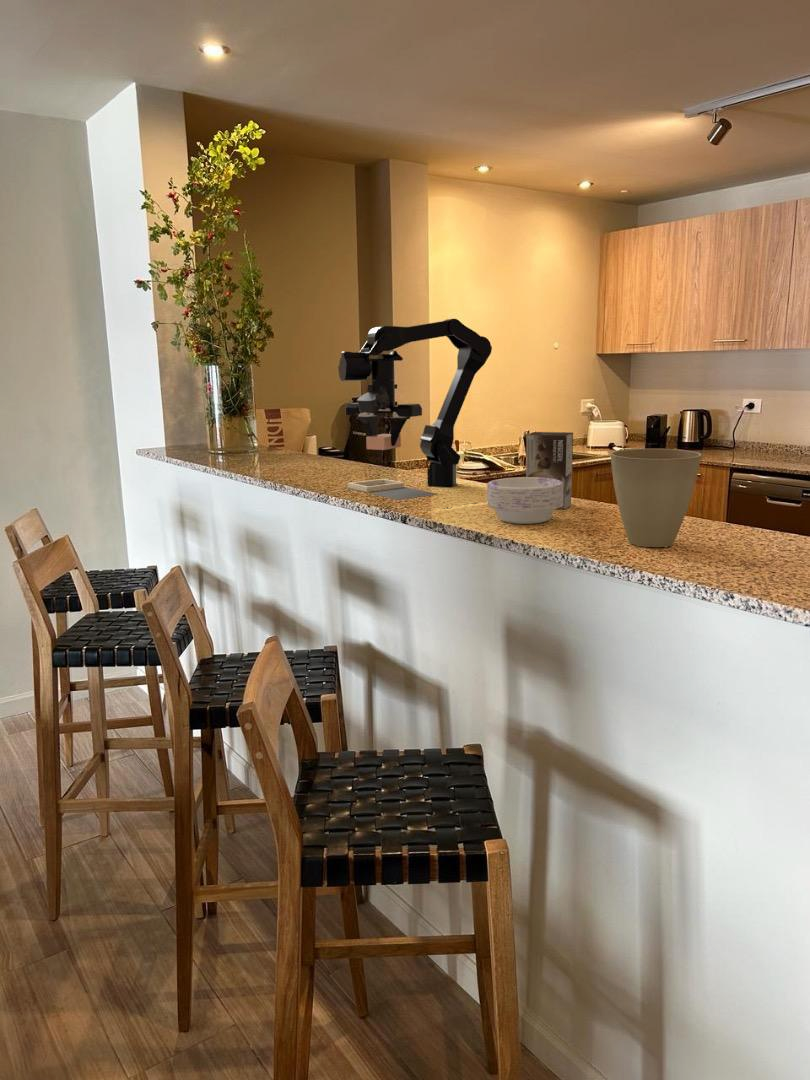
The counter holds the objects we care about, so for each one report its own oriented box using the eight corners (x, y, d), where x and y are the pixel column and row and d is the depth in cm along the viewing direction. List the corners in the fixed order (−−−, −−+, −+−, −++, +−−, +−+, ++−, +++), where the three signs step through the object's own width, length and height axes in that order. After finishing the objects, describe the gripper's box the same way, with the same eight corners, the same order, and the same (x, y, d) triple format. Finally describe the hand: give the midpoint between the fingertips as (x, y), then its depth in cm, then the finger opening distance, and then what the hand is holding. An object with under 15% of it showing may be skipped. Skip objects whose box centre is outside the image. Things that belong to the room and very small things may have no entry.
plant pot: (631, 530, 147) (636, 446, 143) (709, 542, 137) (716, 452, 133) (590, 544, 137) (594, 453, 133) (670, 558, 126) (677, 460, 123)
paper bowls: (473, 516, 162) (474, 478, 160) (537, 510, 168) (538, 474, 166) (509, 530, 148) (510, 489, 146) (577, 523, 154) (579, 484, 152)
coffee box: (572, 504, 174) (574, 432, 170) (565, 509, 168) (567, 434, 164) (532, 502, 177) (534, 430, 174) (524, 506, 172) (526, 433, 168)
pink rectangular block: (384, 450, 186) (384, 437, 185) (366, 449, 188) (366, 436, 188) (400, 446, 193) (400, 434, 192) (383, 445, 195) (383, 433, 195)
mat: (439, 496, 186) (439, 489, 185) (398, 502, 179) (398, 494, 178) (382, 484, 204) (381, 477, 204) (343, 489, 197) (342, 482, 197)
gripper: (331, 381, 185) (333, 447, 188) (399, 381, 176) (400, 450, 179) (356, 379, 194) (358, 442, 198) (422, 380, 185) (423, 445, 189)
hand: (383, 445), depth 191 cm, fingers closed on pink rectangular block, 5 cm apart
